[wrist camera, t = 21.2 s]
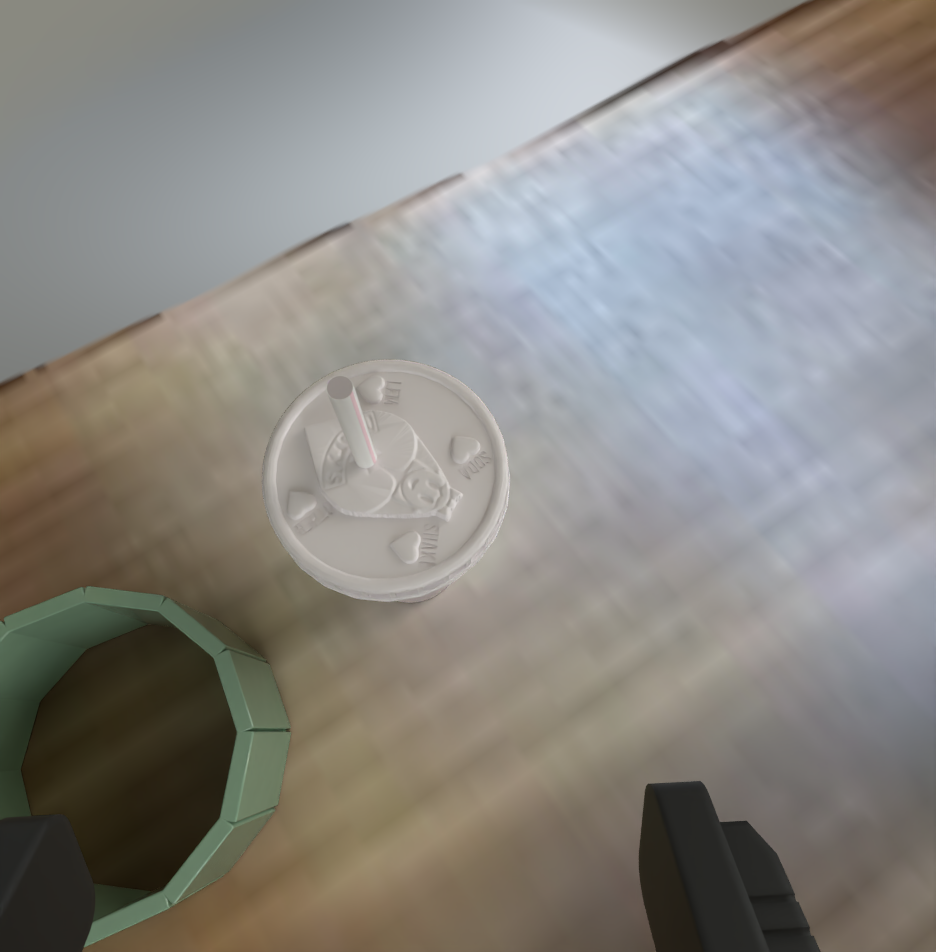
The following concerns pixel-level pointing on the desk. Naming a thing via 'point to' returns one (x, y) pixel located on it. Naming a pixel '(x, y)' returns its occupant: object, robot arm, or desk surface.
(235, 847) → the holder
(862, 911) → the desk surface
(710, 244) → the desk surface
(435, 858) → the desk surface
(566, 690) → the desk surface
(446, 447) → the smoothie
